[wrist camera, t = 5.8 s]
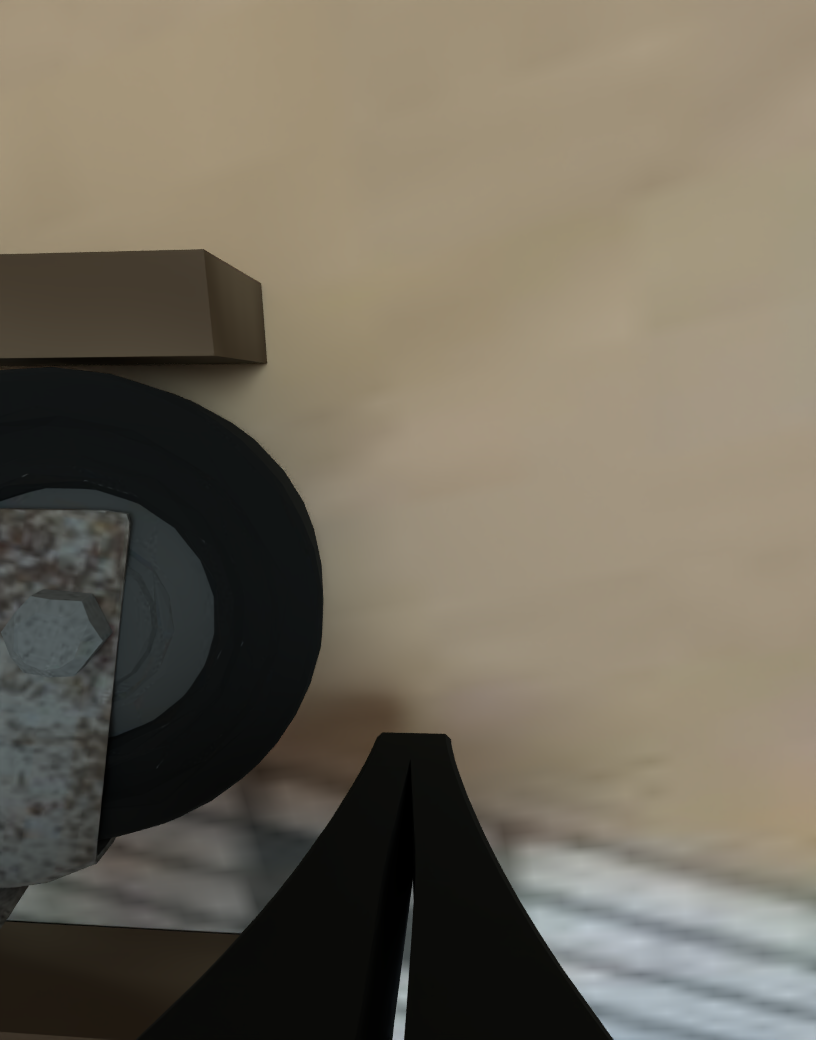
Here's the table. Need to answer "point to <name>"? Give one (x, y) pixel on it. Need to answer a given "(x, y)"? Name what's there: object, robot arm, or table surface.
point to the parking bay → (114, 341)
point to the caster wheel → (137, 614)
